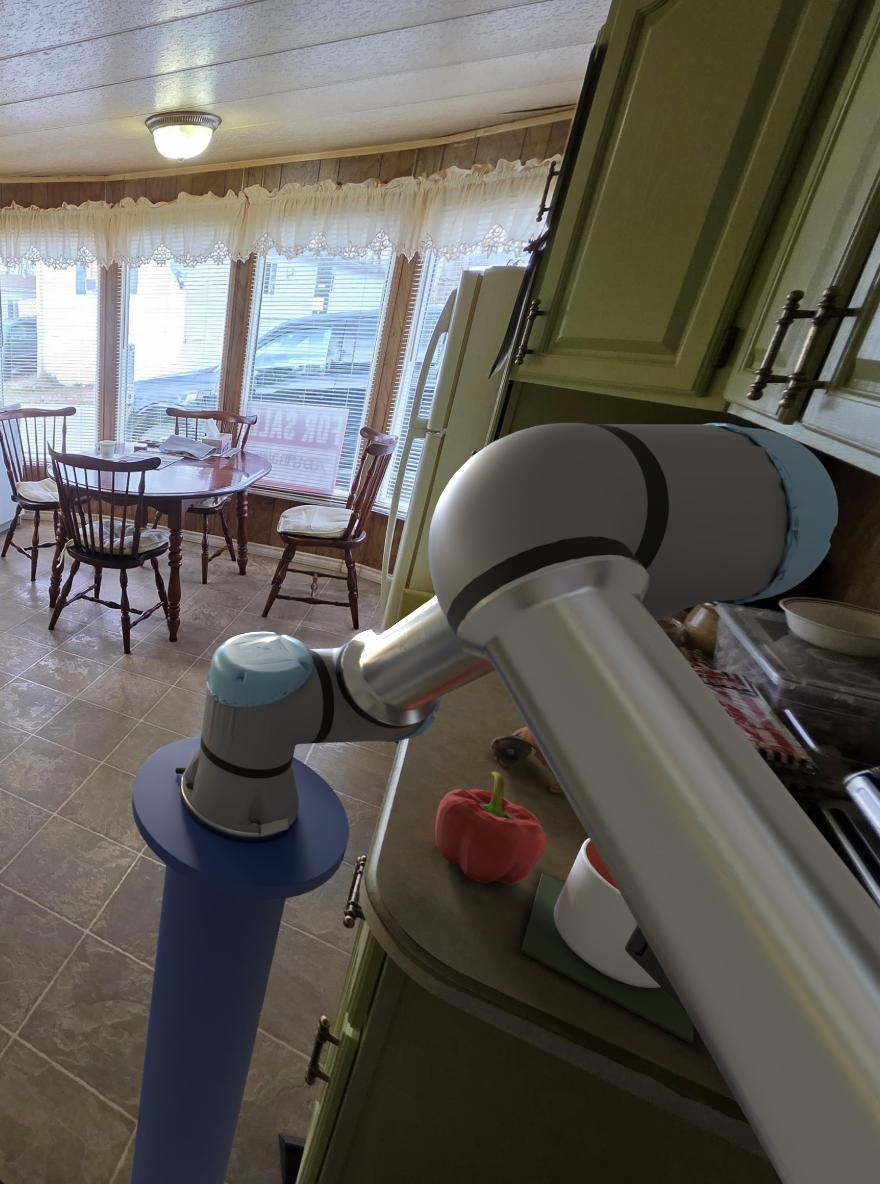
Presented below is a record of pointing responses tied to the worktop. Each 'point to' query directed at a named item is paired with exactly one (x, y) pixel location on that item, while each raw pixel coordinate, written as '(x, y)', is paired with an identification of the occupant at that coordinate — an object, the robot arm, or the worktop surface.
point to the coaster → (559, 956)
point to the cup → (598, 920)
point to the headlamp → (518, 750)
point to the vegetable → (488, 834)
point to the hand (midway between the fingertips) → (743, 891)
